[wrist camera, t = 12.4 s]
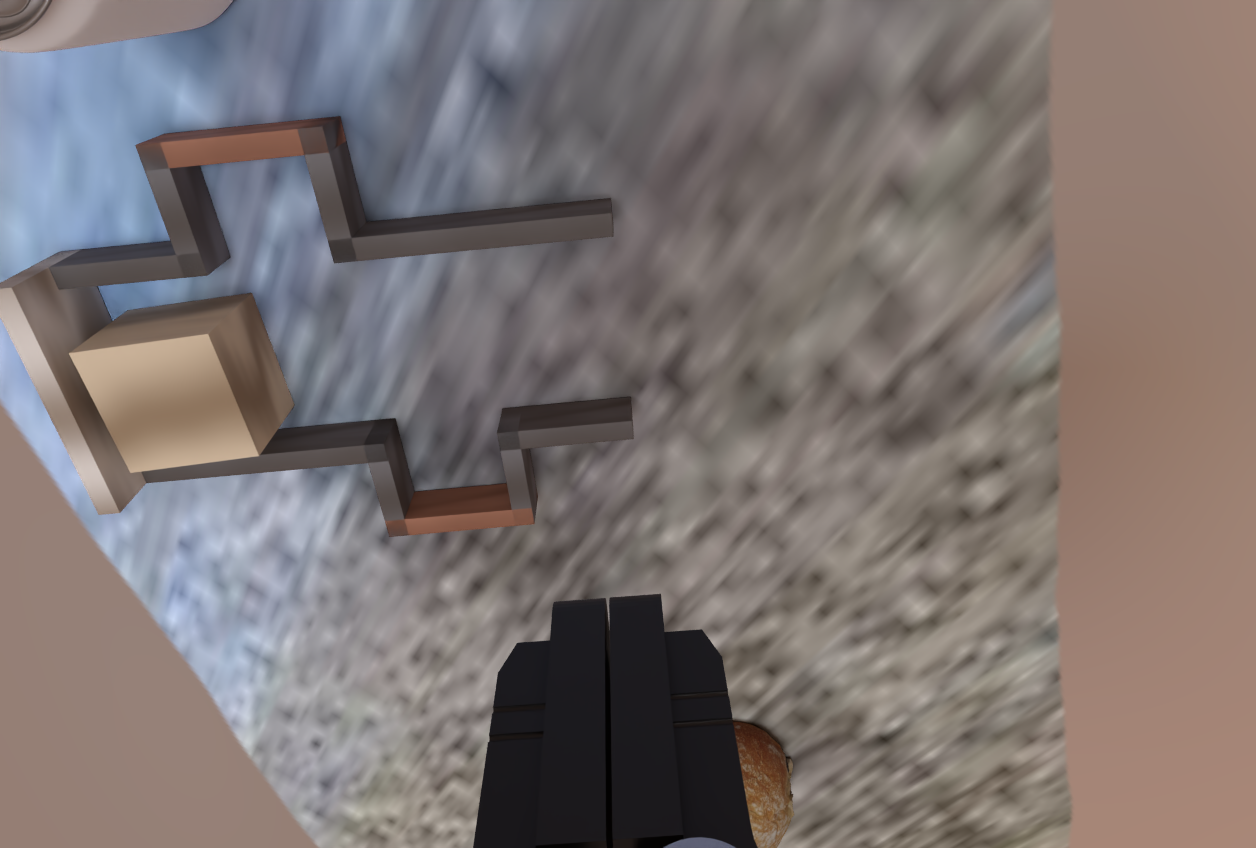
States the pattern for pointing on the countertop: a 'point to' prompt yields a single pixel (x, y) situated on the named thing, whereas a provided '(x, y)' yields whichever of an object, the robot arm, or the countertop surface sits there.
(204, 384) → the maple block
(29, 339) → the channel
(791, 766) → the bread roll
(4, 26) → the can
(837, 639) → the countertop surface
